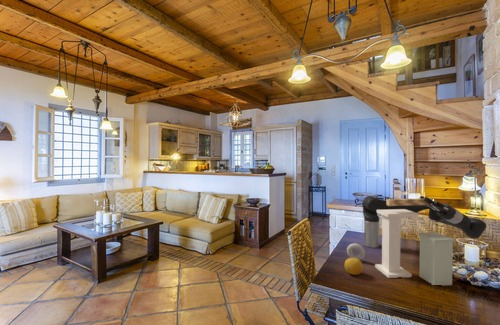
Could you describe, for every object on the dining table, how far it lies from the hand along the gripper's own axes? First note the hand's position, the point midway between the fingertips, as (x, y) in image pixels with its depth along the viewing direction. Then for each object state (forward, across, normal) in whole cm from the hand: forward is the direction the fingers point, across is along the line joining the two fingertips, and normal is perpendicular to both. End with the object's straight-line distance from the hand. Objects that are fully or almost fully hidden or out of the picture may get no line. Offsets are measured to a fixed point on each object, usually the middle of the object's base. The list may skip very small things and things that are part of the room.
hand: (422, 198), depth 128 cm
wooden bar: (+4, 0, +6) cm, 8 cm away
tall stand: (-7, 0, +41) cm, 41 cm away
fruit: (+13, 0, +52) cm, 54 cm away
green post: (-19, +10, +34) cm, 40 cm away
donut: (+5, -15, +48) cm, 51 cm away
